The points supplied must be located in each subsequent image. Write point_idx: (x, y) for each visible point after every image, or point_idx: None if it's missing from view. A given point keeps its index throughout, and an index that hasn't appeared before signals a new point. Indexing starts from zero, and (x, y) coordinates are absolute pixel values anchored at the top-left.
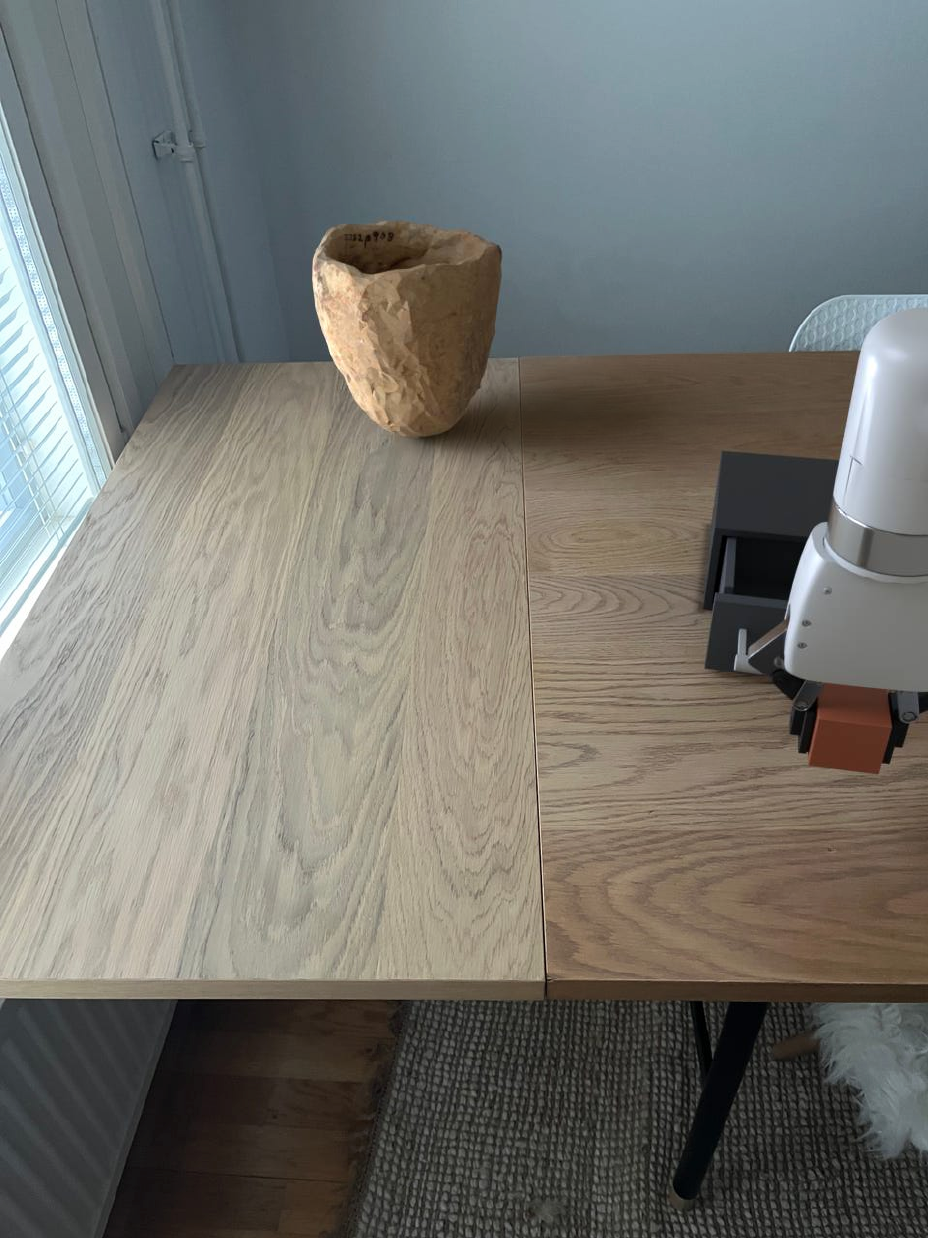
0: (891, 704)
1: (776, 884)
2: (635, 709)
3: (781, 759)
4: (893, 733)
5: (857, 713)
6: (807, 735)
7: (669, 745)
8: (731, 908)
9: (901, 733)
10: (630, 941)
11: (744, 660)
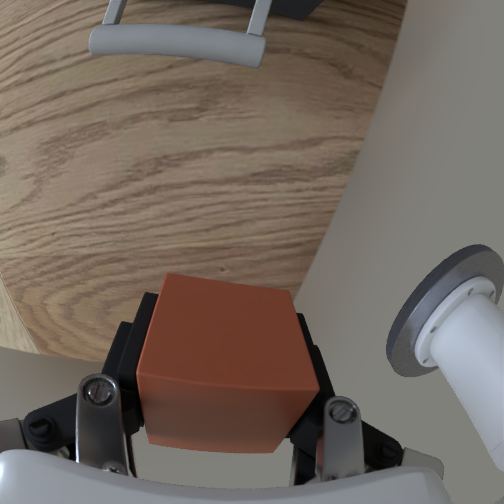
0: (298, 422)
1: None
2: (34, 84)
3: (192, 139)
4: None
5: (220, 445)
6: None
7: (62, 134)
8: None
9: None
10: (72, 343)
11: (101, 43)
